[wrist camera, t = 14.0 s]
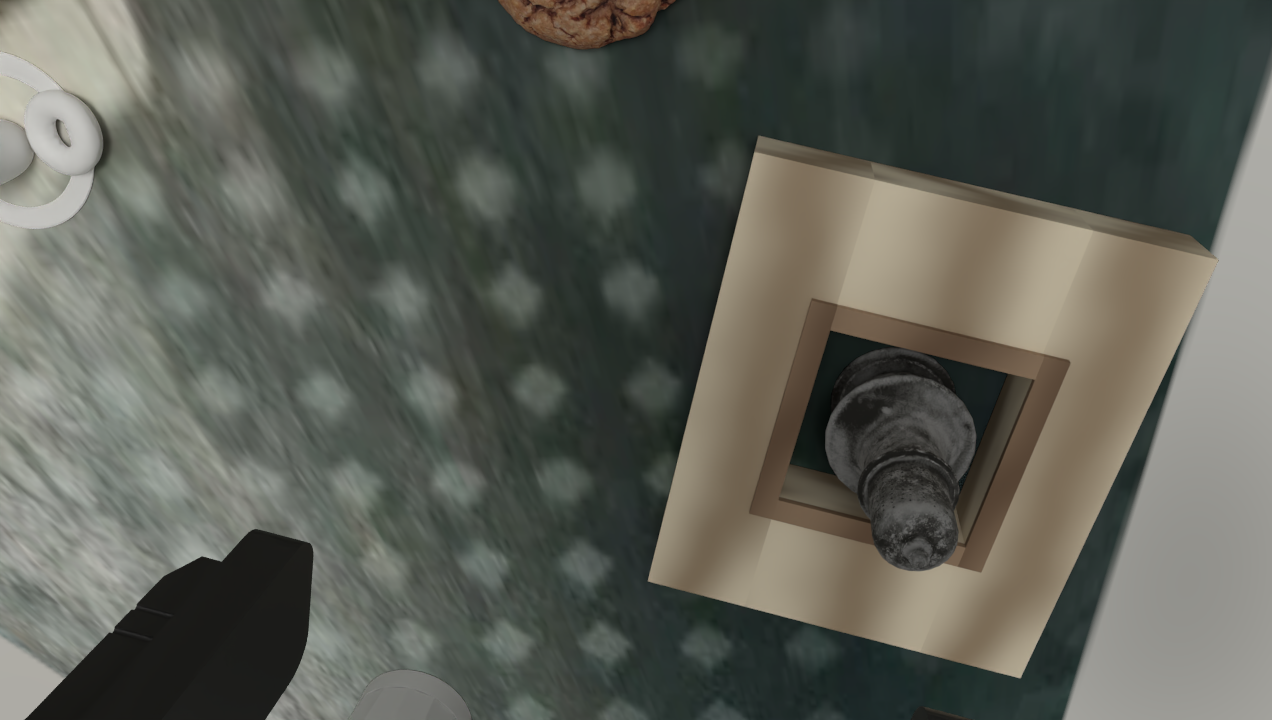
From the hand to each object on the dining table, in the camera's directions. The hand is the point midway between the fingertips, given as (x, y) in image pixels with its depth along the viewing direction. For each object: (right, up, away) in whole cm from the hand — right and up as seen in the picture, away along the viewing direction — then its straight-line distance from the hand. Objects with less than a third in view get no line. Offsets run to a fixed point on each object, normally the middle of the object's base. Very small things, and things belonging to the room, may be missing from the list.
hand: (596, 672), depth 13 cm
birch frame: (+12, +2, +30) cm, 33 cm away
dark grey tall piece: (+12, +2, +31) cm, 33 cm away
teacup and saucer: (-25, +12, +33) cm, 43 cm away
